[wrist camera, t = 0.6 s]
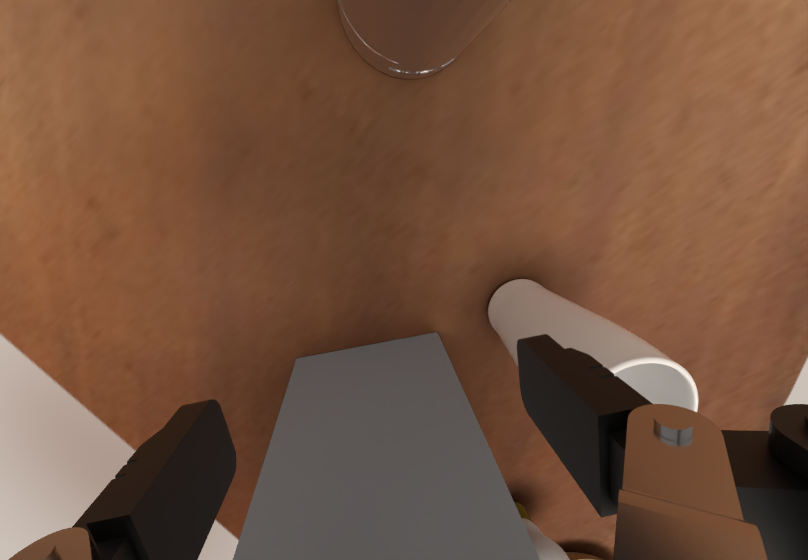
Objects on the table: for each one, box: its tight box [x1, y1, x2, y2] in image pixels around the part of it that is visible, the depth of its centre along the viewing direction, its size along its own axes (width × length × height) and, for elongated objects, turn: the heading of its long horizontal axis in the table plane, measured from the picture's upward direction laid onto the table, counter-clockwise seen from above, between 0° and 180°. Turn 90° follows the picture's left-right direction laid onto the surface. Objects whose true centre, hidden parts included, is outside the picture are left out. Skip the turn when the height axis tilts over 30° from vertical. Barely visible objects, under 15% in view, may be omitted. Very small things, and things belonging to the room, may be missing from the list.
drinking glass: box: [488, 279, 698, 412], centre depth 26 cm, size 7×7×15 cm
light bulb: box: [514, 502, 570, 560], centre depth 35 cm, size 6×6×10 cm
